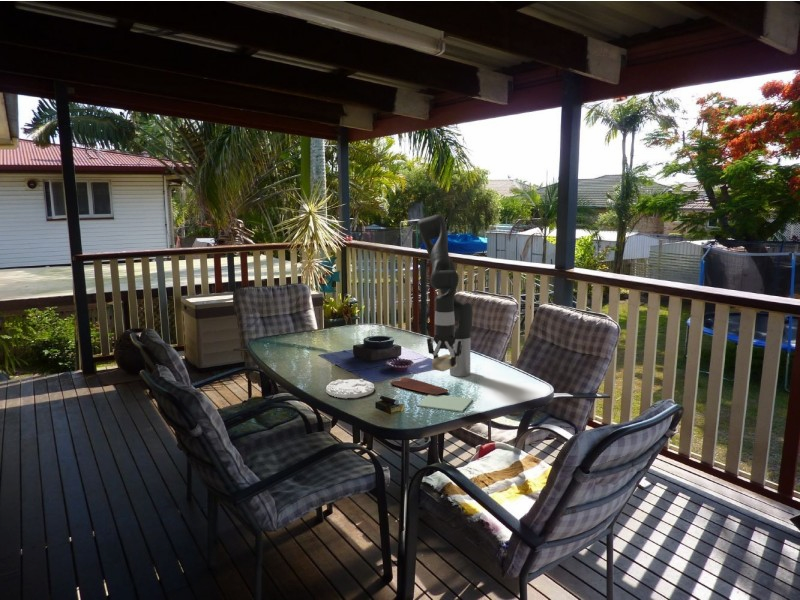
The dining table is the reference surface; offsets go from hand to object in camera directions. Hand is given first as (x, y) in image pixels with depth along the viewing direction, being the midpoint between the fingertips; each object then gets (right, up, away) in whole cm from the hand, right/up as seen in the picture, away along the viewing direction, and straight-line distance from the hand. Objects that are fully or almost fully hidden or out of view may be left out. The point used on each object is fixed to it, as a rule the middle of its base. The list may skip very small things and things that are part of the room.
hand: (444, 365), depth 223 cm
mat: (0, -15, +2) cm, 15 cm away
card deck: (0, -1, 0) cm, 1 cm away
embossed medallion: (-38, -13, +20) cm, 45 cm away
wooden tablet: (-9, -12, +20) cm, 25 cm away
